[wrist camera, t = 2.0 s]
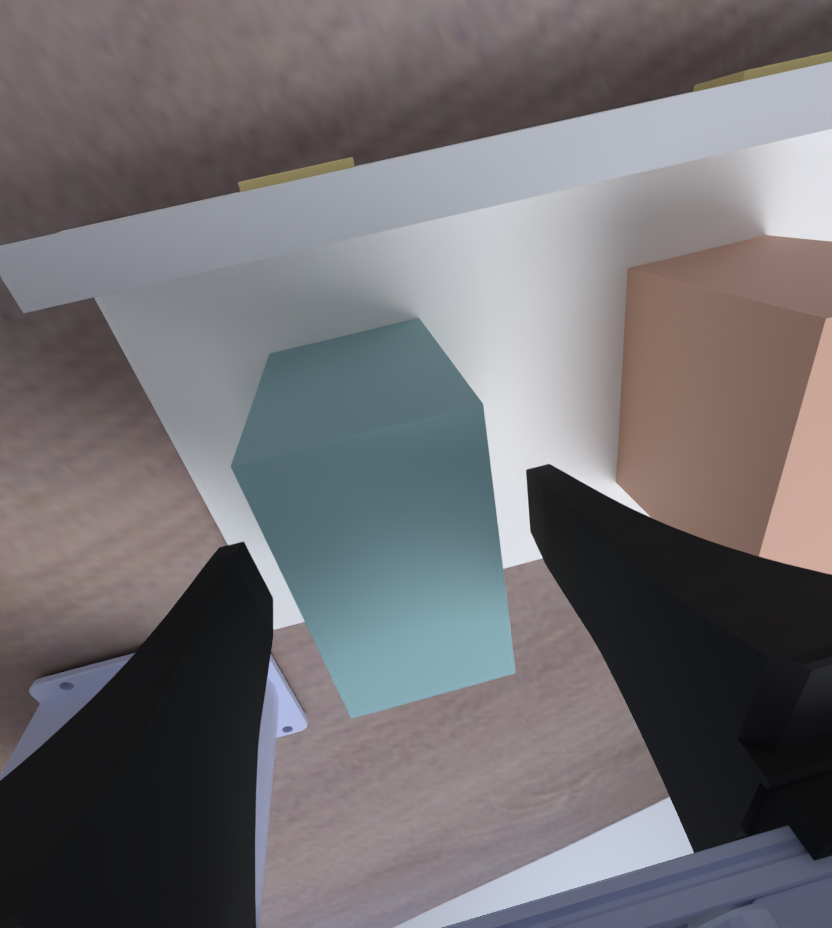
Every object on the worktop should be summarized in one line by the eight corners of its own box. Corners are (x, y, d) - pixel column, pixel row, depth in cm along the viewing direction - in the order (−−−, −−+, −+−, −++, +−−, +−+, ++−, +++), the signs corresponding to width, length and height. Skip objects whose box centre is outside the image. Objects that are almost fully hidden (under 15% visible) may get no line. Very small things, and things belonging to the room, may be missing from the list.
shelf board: (275, 611, 20) (265, 697, 16) (75, 224, 12) (-25, 237, 9) (774, 479, 21) (861, 535, 18) (893, 43, 13) (1094, -9, 10)
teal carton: (343, 553, 18) (351, 718, 12) (269, 353, 13) (230, 466, 8) (460, 523, 18) (521, 671, 12) (423, 316, 14) (491, 402, 8)
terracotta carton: (616, 482, 18) (743, 609, 13) (627, 268, 14) (826, 318, 8) (727, 453, 18) (900, 566, 13) (771, 233, 14) (1057, 261, 9)
